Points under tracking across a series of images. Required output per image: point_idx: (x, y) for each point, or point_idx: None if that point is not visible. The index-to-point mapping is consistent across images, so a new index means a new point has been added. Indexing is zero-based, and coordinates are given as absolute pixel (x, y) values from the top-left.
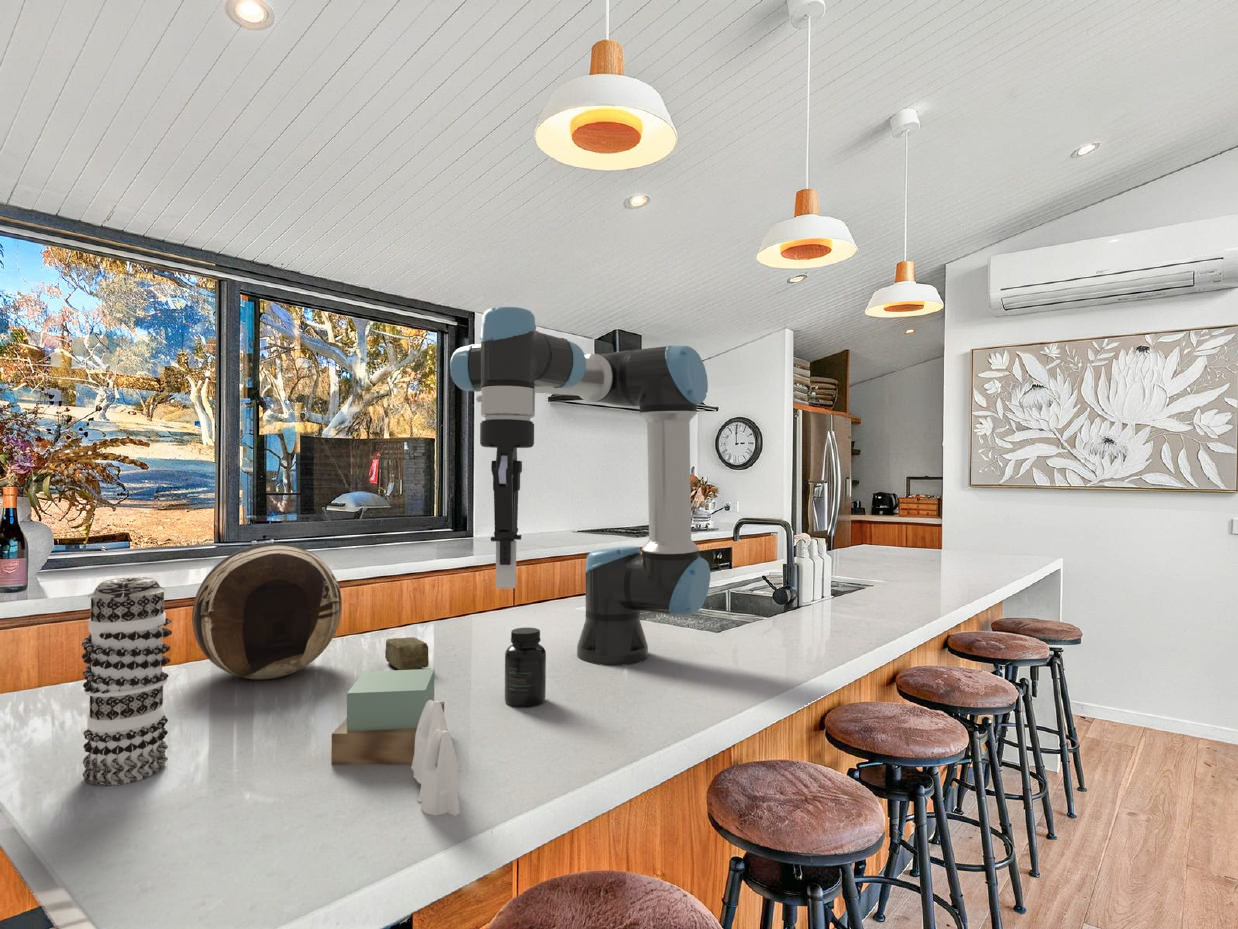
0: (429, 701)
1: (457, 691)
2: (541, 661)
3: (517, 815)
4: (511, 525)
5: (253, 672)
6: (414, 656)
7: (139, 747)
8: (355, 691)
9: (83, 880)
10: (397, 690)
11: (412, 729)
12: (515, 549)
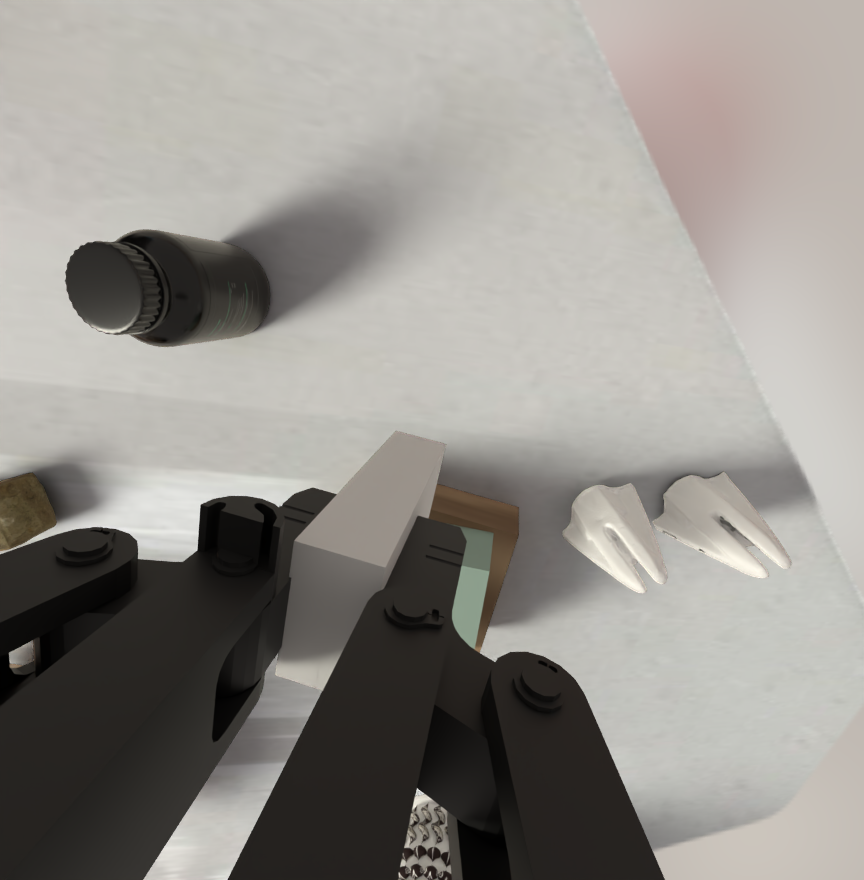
0: (646, 590)
1: (156, 422)
2: (196, 250)
3: (757, 386)
4: (633, 821)
5: None
6: (24, 510)
7: None
8: None
9: (689, 830)
10: (475, 620)
11: (495, 553)
12: (399, 532)
